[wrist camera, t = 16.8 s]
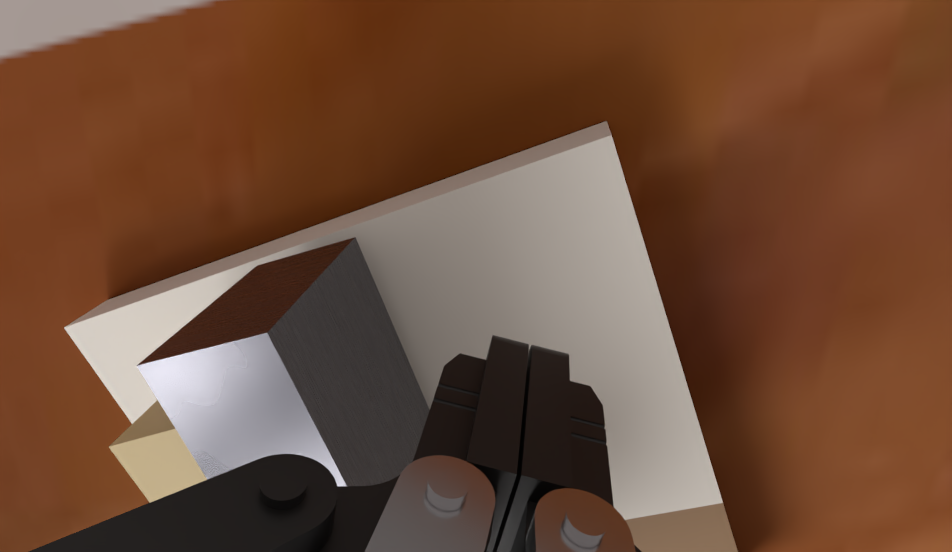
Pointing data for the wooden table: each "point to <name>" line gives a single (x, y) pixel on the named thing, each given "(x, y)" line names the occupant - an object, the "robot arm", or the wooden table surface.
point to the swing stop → (294, 372)
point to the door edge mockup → (476, 320)
